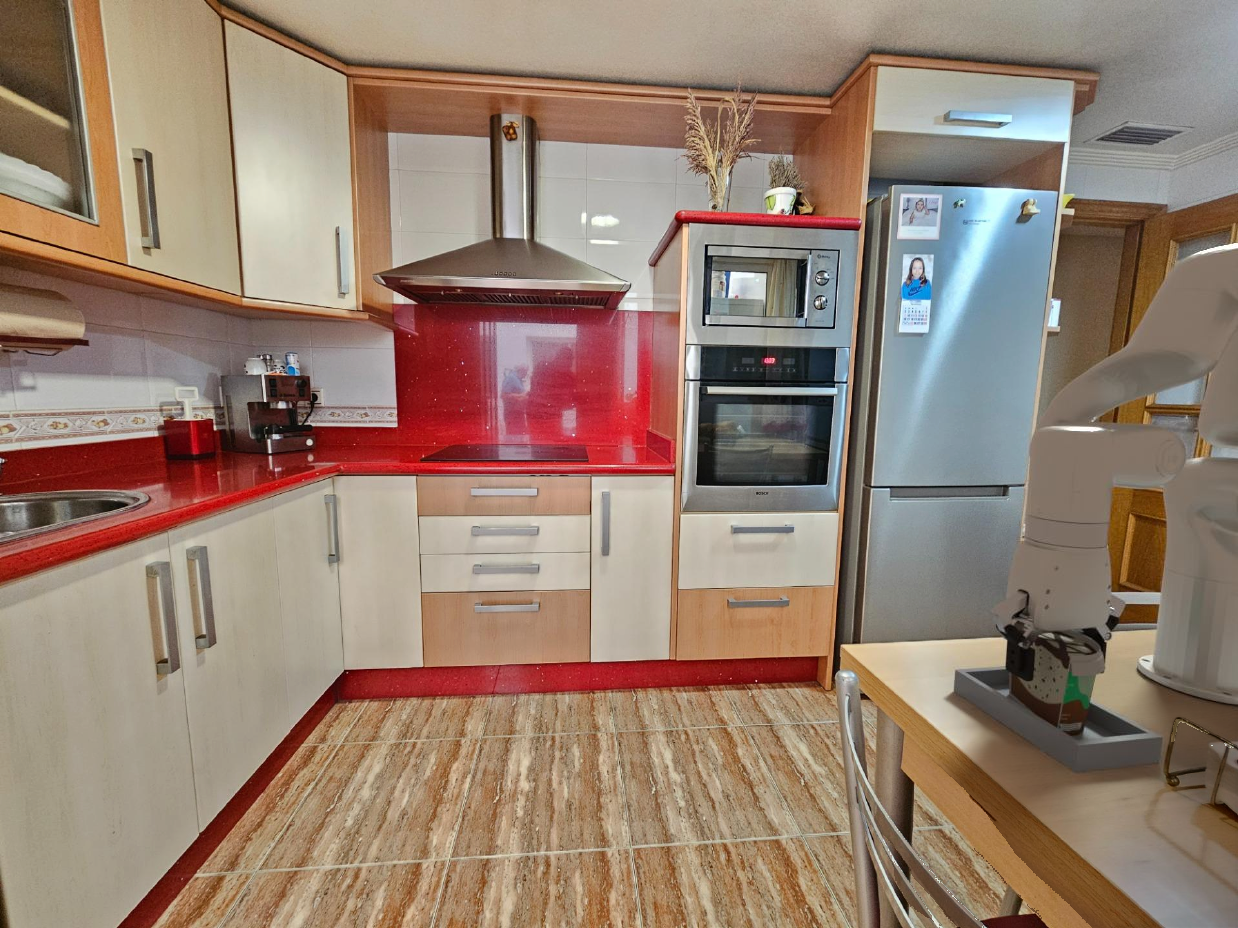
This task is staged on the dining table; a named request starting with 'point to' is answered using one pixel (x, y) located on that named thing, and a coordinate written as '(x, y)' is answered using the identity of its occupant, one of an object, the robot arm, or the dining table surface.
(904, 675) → the dining table surface
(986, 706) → the tray
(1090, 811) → the dining table surface
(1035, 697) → the food container
